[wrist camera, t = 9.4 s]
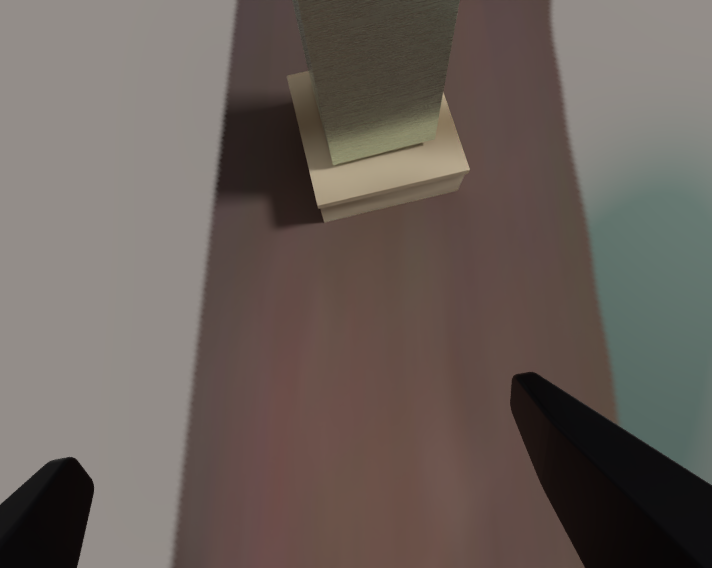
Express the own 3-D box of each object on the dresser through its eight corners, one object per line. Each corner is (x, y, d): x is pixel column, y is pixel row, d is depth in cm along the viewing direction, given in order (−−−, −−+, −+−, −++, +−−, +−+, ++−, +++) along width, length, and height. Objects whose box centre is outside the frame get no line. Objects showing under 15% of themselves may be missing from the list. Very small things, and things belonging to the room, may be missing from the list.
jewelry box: (458, 195, 25) (469, 169, 22) (323, 227, 25) (317, 205, 22) (419, 79, 27) (426, 41, 24) (295, 108, 27) (286, 73, 24)
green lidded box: (437, 140, 22) (492, -156, 11) (331, 167, 22) (272, -102, 10) (407, 57, 24) (427, -275, 12) (309, 82, 24) (237, -229, 12)
